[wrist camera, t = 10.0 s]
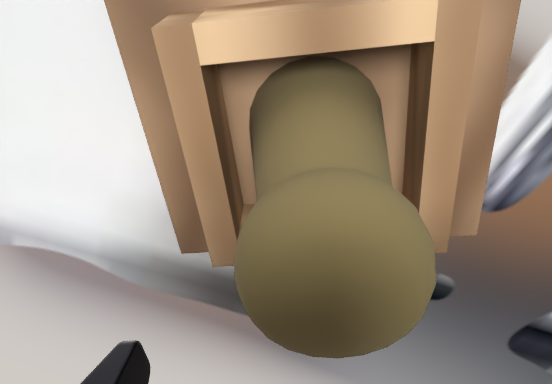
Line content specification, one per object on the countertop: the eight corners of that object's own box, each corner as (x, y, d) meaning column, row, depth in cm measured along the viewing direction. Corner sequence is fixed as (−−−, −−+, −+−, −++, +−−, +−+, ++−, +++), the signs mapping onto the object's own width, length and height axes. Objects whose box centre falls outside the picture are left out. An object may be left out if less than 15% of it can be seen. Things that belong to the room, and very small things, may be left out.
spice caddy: (186, 240, 24) (168, 293, 21) (108, -28, 17) (59, -16, 13) (468, 221, 23) (500, 275, 19) (520, -81, 15) (587, -82, 12)
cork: (331, 200, 21) (363, 416, 12) (225, 143, 19) (166, 341, 10) (411, 102, 18) (536, 288, 9) (294, 27, 17) (298, 156, 7)
